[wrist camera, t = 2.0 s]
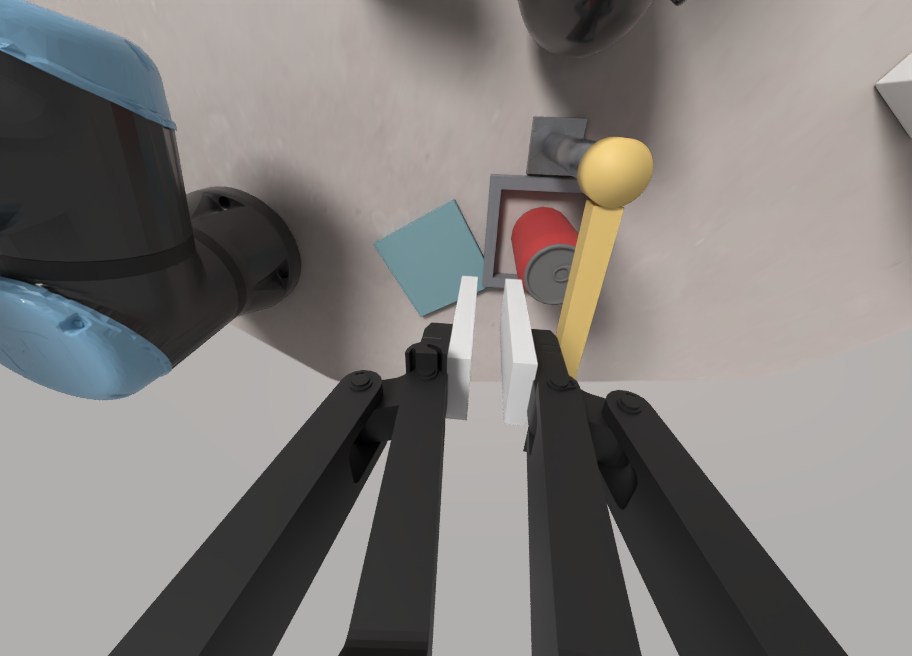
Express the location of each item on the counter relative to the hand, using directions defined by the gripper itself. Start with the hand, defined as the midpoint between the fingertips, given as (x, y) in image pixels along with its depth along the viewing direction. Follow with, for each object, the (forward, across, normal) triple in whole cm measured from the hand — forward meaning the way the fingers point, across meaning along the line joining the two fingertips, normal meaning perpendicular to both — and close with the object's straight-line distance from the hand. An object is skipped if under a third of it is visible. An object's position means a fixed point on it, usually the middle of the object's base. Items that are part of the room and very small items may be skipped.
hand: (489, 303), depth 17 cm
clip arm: (+8, +6, -1) cm, 10 cm away
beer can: (+25, +6, -3) cm, 26 cm away
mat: (+24, -6, -8) cm, 26 cm away
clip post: (+24, +6, +6) cm, 26 cm away
